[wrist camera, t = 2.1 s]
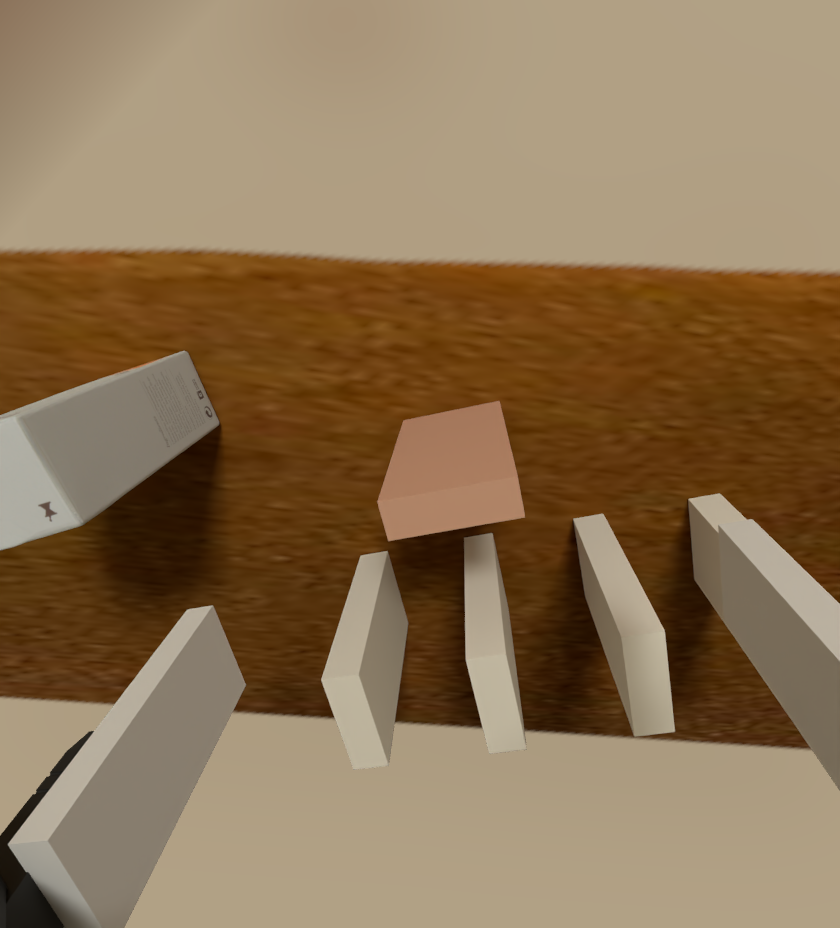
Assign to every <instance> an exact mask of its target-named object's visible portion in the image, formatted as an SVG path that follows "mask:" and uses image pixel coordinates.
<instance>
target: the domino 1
mask: <svg viewBox="0 0 840 928" xmlns="http://www.w3.org/2000/svg"><path fill="white" fill-rule="evenodd" d="M407 629H408V621H407V617H406V614H405V610H404V607H403V603H402V599H401V596H400V592H399V589H398V585H397V582H396V578H395V575H394V571H393V568H392V564H391V561H390V557H389V554H388V551H384V552H378V553H373V554H367V555H361V556H360V559H359V562H358V566H357V569H356V572H355V575H354V578H353V581H352V584H351V588H350V591H349V594H348V597H347V600H346V603H345V607H344V610H343V613H342V616H341V619H340V622H339V625H338V629H337V632H336V635H335V638H334V641H333V644H332V647H331V651H330V654H329V657H328V660H327V663H326V666H325V669H324V673H323V676H322V679H321V681H322V684H323V687H324V689H325V692H326V695H327V698H328V700H329V703H330V706H331V709H332V711H333V714H334V717H335V720H336V723H337V725H338V728H339V731H340V734H341V736H342V739H343V742H344V745H345V747H346V750H347V753H348V756H349V759H350V761H351V764H352V767H353V770H356V769H365V768H373V767H381V766H388V765H389V760H390V753H391V746H392V738H393V731H394V724H395V716H396V709H397V702H398V695H399V687H400V680H401V673H402V665H403V658H404V651H405V643H406V636H407Z"/></svg>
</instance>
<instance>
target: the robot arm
mask: <svg viewBox="0 0 840 928" xmlns="http://www.w3.org/2000/svg"><path fill="white" fill-rule="evenodd" d="M718 531H719V547H720V564H721V581H722V598H723V614H724V621H725V623H726V624H727V625H728V627H729V628H730V630H731V631H732V633H733V634H734V636H735V637H736V639H737V640H738V642H739V643H740V645H741V646H742V648H743V649H744V651H745V652H746V653H747V655H748V656H749V658H750V659H751V661H752V662H753V664H754V665H755V667H756V668H757V670H758V671H759V673H760V674H761V676H762V677H763V678H764V680H765V681H766V683H767V684H768V686H769V687H770V689H771V690H772V692H773V693H774V695H775V696H776V698H777V699H778V701H779V702H780V704H781V705H782V706H783V708H784V709H785V711H786V712H787V714H788V715H789V717H790V718H791V720H792V721H793V723H794V724H795V726H796V727H797V729H798V730H799V731H800V733H801V734H802V736H803V737H804V739H805V740H806V742H807V743H808V745H809V746H810V748H811V749H812V751H813V752H814V754H815V755H816V756H817V758H818V759H819V761H820V762H821V764H822V765H823V767H824V768H825V770H826V771H827V773H828V774H829V776H830V777H831V779H832V780H833V782H834V783H835V784H836V786H837V787H838V789H839V790H840V604H839V603H838V602H837V601H836V600H835V599H834V598H833V597H832V596H831V595H830V594H829V593H828V592H827V591H826V590H825V589H824V588H823V587H822V586H821V585H820V584H818V583H817V582H816V581H815V580H814V579H813V578H812V577H811V576H810V575H809V574H808V573H807V572H806V571H805V570H804V569H803V568H802V567H801V566H800V565H799V564H798V563H797V562H796V561H795V560H794V559H793V558H792V557H791V556H790V555H789V554H788V553H787V552H786V551H784V550H783V549H782V548H781V547H780V546H779V545H778V544H777V543H776V542H775V541H774V540H773V539H772V538H771V537H770V536H769V535H768V534H767V533H766V532H765V531H764V530H763V529H762V528H761V527H760V526H759V525H758V524H757V523H756V522H755V521H754V520H753V519H750V520H744V521H737V522H731V523H725V524H719V525H718ZM245 686H246V684H245V682H244V679H243V677H242V674H241V672H240V670H239V667H238V665H237V662H236V660H235V657H234V655H233V653H232V650H231V648H230V645H229V643H228V641H227V638H226V636H225V633H224V631H223V628H222V626H221V624H220V621H219V619H218V616H217V614H216V611H215V609H214V607H213V605H212V606H206V607H200V608H193V609H187V611H186V612H185V613H184V615H183V616H182V617H181V618H180V620H179V621H178V622H177V624H176V625H175V626H174V628H173V629H172V630H171V632H170V633H169V634H168V635H167V637H166V638H165V639H164V641H163V642H162V643H161V645H160V646H159V647H158V649H157V650H156V651H155V652H154V654H153V655H152V656H151V658H150V659H149V660H148V662H147V663H146V664H145V666H144V667H143V668H142V669H141V671H140V672H139V673H138V675H137V676H136V677H135V679H134V680H133V681H132V683H131V684H130V685H129V686H128V688H127V689H126V690H125V692H124V693H123V694H122V696H121V697H120V698H119V700H118V701H117V702H116V703H115V705H114V706H113V707H112V709H111V710H110V711H109V713H108V714H107V715H106V717H105V718H104V719H103V720H102V722H101V723H100V724H99V726H98V727H97V728H96V730H95V731H91V732H89V733H87V734H86V735H85V736H84V737H83V738H82V739H80V740H79V741H78V742H77V743H76V744H75V745H74V746H73V747H71V748H70V749H69V750H68V751H67V752H66V753H65V754H64V756H63V757H62V758H61V759H60V761H59V762H58V763H57V764H56V766H55V767H54V768H53V769H52V771H51V772H50V776H49V777H46V778H45V780H44V781H43V782H42V783H41V785H40V786H39V787H38V789H37V790H36V791H37V792H36V794H33V795H32V796H31V798H30V799H29V800H28V801H27V803H26V804H25V805H24V806H23V808H22V809H21V810H20V811H19V813H18V814H17V815H16V816H15V818H14V819H13V820H12V822H11V823H10V824H9V825H8V827H7V828H6V829H5V831H4V832H3V833H2V834H1V836H0V928H124V927H125V925H126V923H127V921H128V919H129V917H130V915H131V913H132V911H133V909H134V907H135V905H136V903H137V901H138V899H139V897H140V895H141V893H142V891H143V889H144V887H145V885H146V883H147V881H148V879H149V877H150V875H151V873H152V871H153V869H154V867H155V865H156V863H157V861H158V859H159V857H160V855H161V853H162V851H163V849H164V847H165V845H166V843H167V841H168V839H169V837H170V835H171V833H172V831H173V829H174V827H175V825H176V823H177V821H178V819H179V817H180V815H181V813H182V811H183V809H184V807H185V805H186V803H187V801H188V799H189V797H190V795H191V793H192V791H193V789H194V787H195V785H196V783H197V781H198V779H199V777H200V775H201V774H202V772H203V769H204V768H205V765H206V764H207V762H208V759H209V758H210V755H211V754H212V751H213V750H214V748H215V746H216V744H217V742H218V740H219V738H220V736H221V734H222V732H223V730H224V728H225V726H226V724H227V722H228V720H229V718H230V716H231V714H232V712H233V710H234V708H235V706H236V704H237V702H238V700H239V698H240V696H241V694H242V692H243V690H244V688H245Z"/></svg>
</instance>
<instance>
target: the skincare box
mask: <svg viewBox="0 0 840 928" xmlns="http://www.w3.org/2000/svg"><path fill="white" fill-rule="evenodd" d="M217 426H219V420H218V418H217V416H216V413H215V411H214V409H213V407H212V405H211V402H210V400H209V398H208V396H207V394H206V392H205V389H204V387H203V385H202V383H201V381H200V378H199V376H198V374H197V372H196V369H195V367H194V365H193V363H192V360H191V358H190V356H189V354H188V352H186V351H182V352H179V353H176V354H173V355H170V356H167V357H164V358H161V359H158V360H155V361H152V362H149V363H146V364H143V365H140V366H137V367H134V368H131V369H128V370H125V371H122V372H119V373H116V374H113V375H110V376H107V377H104V378H101V379H98V380H95V381H93V382H90V383H87V384H84V385H81V386H78V387H76V388H73V389H70V390H67V391H65V392H62V393H59V394H56V395H54V396H51V397H48V398H46V399H43V400H40V401H37V402H35V403H32V404H29V405H27V406H24V407H21V408H19V409H16V410H13V411H11V412H8V413H5V414H3V415H0V550H3V549H8V548H11V547H15V546H18V545H20V544H23V543H25V542H29V541H32V540H35V539H39V538H42V537H45V536H49V535H52V534H56V533H59V532H62V531H66V530H69V529H72V528H76V527H79V526H82V525H84V524H85V523H86V522H88V521H89V520H91V519H92V518H94V517H95V516H97V515H98V514H100V513H101V512H102V511H104V510H105V509H106V508H108V507H109V506H111V505H112V504H113V503H114V502H116V501H117V500H118V499H120V498H121V497H122V496H123V495H125V494H126V493H128V492H129V491H130V490H132V489H133V488H134V487H136V486H137V485H138V484H140V483H141V482H143V481H144V480H145V479H147V478H148V477H149V476H151V475H152V474H153V473H155V472H156V471H157V470H159V469H160V468H161V467H163V466H164V465H166V464H167V463H168V462H169V461H171V460H172V459H174V458H175V457H176V456H178V455H179V454H180V453H182V452H183V451H185V450H186V449H188V448H189V447H190V446H191V445H193V444H194V443H196V442H197V441H199V440H200V439H201V438H202V437H204V436H205V435H207V434H208V433H209V432H210V431H212V430H213V429H215V428H216V427H217Z"/></svg>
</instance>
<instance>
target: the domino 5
mask: <svg viewBox="0 0 840 928" xmlns="http://www.w3.org/2000/svg"><path fill="white" fill-rule="evenodd" d="M688 505H689V518H690V531H691V544H692V557H693V570H694V580H695V581H696V583H697V584H698V586H699V587H700V588H701V590H702V591H703V593H704V594H705V596H706V597H707V599H708V600H709V601H710V603H711V604H712V606H713V607H714V609H715V610H716V612H717V613H718V614H719V616H720V617H721V619H722V620H723V622H724V623H725V621H724V614H723V598H722V581H721V564H720V547H719V531H718V525H719V524H725V523H731V522H737V521H744V520H747V519H746V518H745V517H744V516H743V515H742V514H740V513H739V512H738V511H737V510H736V509H735V508H734V507H733V506H732V505H731V504H730V503H729V502H728V501H727V500H726V499H725V498H724V497H723V496H722V495H721V494H714V495H708V496H702V497H697V498H691V499H688ZM725 625H726V626H727V627H728V625H727V624H726V623H725ZM728 629H729V630H730V628H729V627H728ZM730 632H731V633H732V631H731V630H730ZM732 635H733V636H734V634H733V633H732ZM734 638H735V639H736V637H735V636H734ZM736 640H737V639H736ZM737 642H738V640H737ZM738 643H739V642H738ZM739 645H740V643H739ZM740 646H741V645H740ZM741 648H742V646H741ZM742 649H743V648H742ZM743 651H744V649H743ZM744 652H745V651H744ZM745 653H746V652H745ZM746 655H747V653H746ZM747 656H748V655H747ZM748 658H749V656H748ZM749 659H750V658H749ZM750 661H751V659H750ZM751 662H752V661H751ZM752 664H753V662H752ZM753 665H754V664H753ZM754 666H755V665H754ZM755 668H756V667H755ZM756 669H757V668H756ZM757 671H758V670H757ZM758 672H759V671H758ZM759 674H760V673H759ZM760 675H761V674H760ZM761 677H762V676H761ZM762 678H763V677H762ZM763 679H764V678H763ZM764 681H765V680H764ZM765 682H766V681H765ZM766 684H767V683H766ZM767 685H768V684H767ZM768 687H769V686H768ZM769 688H770V687H769ZM770 690H771V689H770ZM771 691H772V690H771ZM773 694H774V693H773ZM775 697H776V696H775ZM777 700H778V699H777ZM779 703H780V702H779ZM782 707H783V706H782ZM784 710H785V709H784ZM786 713H787V712H786ZM788 716H789V715H788Z"/></svg>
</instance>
